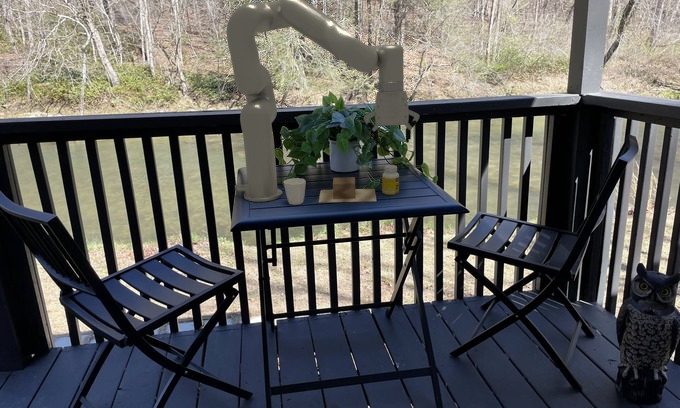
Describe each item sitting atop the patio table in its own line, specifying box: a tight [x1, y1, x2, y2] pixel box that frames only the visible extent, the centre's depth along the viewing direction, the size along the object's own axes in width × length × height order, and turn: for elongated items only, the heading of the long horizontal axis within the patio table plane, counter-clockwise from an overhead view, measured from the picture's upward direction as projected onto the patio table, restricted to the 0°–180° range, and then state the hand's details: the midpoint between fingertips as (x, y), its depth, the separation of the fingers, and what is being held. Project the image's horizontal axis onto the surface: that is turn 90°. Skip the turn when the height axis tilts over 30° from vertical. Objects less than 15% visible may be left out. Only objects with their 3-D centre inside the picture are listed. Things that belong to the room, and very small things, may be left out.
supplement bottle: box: [381, 164, 400, 196], centre depth 170 cm, size 5×5×10 cm
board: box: [318, 188, 377, 203], centre depth 170 cm, size 18×13×1 cm
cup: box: [283, 177, 307, 206], centre depth 164 cm, size 7×10×8 cm
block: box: [332, 176, 356, 199], centre depth 169 cm, size 7×7×5 cm
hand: (391, 142), depth 166 cm, fingers open, 9 cm apart
